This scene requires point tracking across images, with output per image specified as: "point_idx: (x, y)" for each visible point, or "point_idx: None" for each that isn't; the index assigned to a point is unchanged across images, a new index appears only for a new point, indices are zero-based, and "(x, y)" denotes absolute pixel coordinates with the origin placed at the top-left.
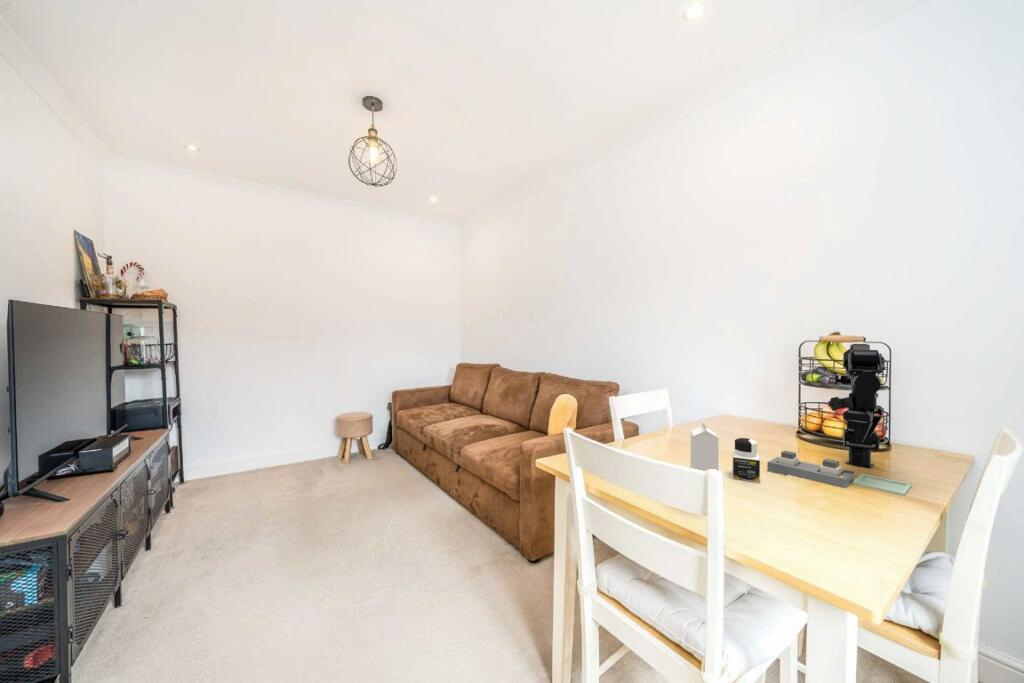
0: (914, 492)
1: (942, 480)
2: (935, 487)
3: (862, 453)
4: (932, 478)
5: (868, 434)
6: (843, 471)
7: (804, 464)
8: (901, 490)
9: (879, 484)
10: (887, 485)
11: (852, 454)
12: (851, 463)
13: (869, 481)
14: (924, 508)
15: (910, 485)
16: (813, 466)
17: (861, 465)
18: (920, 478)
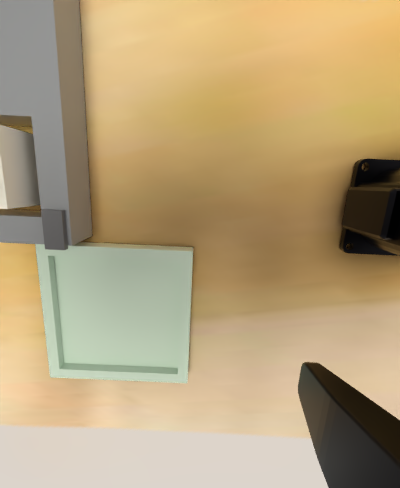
0: None
1: None
2: (257, 413)
3: (395, 241)
4: None
5: (314, 420)
6: (45, 211)
7: (2, 22)
8: (112, 360)
9: (123, 307)
10: (134, 326)
11: (383, 193)
12: (353, 187)
13: (134, 278)
14: (8, 405)
15: (165, 381)
16: (9, 75)
17: (343, 226)
18: None
